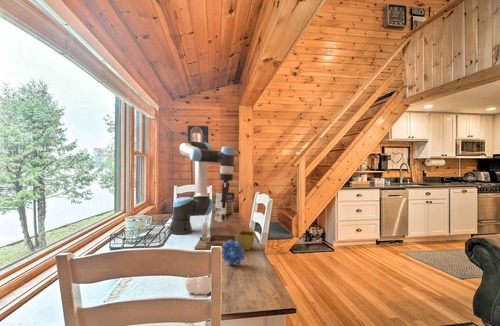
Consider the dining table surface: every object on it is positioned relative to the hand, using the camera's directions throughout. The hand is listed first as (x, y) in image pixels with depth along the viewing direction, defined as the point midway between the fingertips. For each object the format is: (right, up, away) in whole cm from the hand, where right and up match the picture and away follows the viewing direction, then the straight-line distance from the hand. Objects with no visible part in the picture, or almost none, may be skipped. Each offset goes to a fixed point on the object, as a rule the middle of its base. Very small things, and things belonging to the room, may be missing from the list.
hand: (224, 211), depth 141 cm
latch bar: (-12, -13, +4) cm, 18 cm away
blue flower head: (+6, -20, -26) cm, 33 cm away
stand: (-4, -20, 0) cm, 21 cm away
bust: (-3, -19, -50) cm, 54 cm away
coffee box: (0, -5, 0) cm, 5 cm away
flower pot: (+12, -21, 0) cm, 25 cm away
